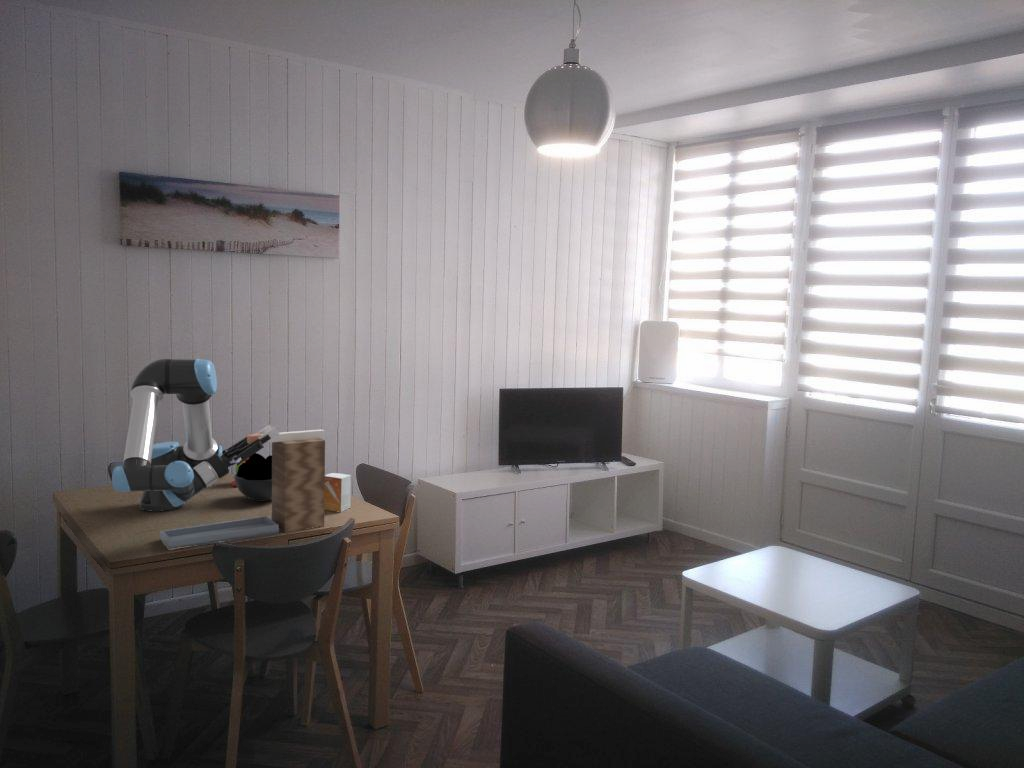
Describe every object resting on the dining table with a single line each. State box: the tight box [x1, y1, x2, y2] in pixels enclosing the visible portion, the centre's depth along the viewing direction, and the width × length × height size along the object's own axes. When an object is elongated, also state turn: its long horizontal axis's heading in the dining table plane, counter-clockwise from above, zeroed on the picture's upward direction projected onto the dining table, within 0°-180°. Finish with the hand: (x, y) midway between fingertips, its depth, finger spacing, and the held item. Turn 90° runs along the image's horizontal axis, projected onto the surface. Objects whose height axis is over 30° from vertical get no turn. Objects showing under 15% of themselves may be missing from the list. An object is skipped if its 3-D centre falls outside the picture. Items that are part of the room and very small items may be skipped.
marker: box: [246, 428, 326, 444], centre depth 258 cm, size 26×3×3 cm, turn 127°
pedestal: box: [271, 438, 326, 533], centre depth 262 cm, size 14×12×30 cm
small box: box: [324, 472, 352, 513], centre depth 284 cm, size 8×6×13 cm
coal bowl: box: [233, 452, 272, 502], centre depth 293 cm, size 20×20×19 cm
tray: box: [159, 515, 280, 549], centre depth 248 cm, size 34×12×3 cm, turn 127°
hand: (274, 429), depth 255 cm, fingers open, 4 cm apart
